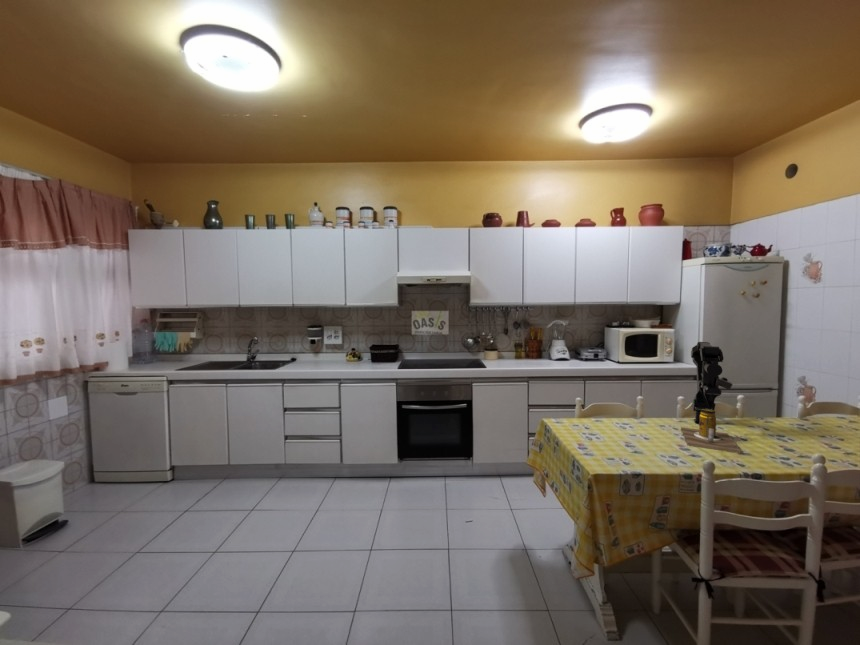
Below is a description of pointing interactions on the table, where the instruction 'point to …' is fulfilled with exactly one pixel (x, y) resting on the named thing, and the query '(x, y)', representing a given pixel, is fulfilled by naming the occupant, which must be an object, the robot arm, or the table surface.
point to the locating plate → (706, 444)
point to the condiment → (707, 423)
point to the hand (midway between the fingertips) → (708, 404)
